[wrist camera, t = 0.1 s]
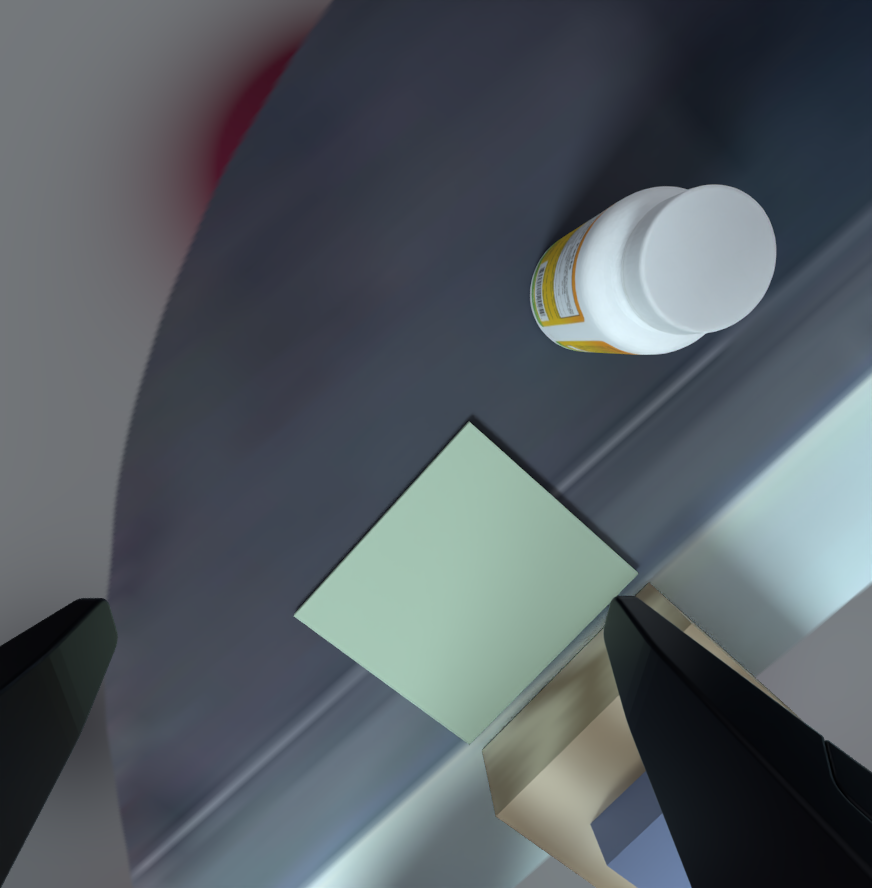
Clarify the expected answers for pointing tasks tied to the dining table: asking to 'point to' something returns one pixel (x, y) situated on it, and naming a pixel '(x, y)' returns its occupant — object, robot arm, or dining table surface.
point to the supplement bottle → (655, 271)
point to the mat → (466, 586)
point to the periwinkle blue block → (639, 839)
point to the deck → (577, 753)
